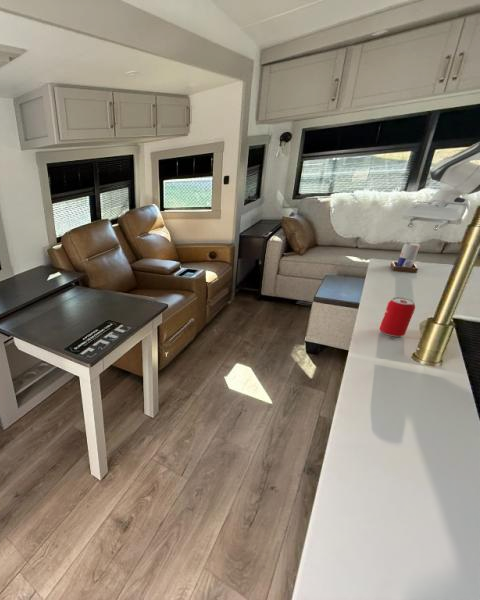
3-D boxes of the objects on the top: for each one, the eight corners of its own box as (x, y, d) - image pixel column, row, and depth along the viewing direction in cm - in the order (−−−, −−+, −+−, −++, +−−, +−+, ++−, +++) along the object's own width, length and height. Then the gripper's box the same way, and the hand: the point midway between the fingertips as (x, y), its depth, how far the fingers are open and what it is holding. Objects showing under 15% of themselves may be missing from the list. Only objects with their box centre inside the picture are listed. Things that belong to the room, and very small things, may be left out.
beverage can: (401, 330, 106) (413, 298, 101) (406, 339, 101) (420, 306, 96) (376, 327, 109) (387, 295, 104) (380, 335, 104) (392, 303, 99)
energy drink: (397, 265, 156) (405, 241, 151) (412, 267, 152) (421, 243, 147) (394, 268, 153) (403, 244, 148) (410, 270, 149) (419, 245, 144)
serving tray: (413, 267, 153) (414, 263, 153) (416, 272, 147) (418, 268, 147) (390, 265, 158) (391, 261, 157) (392, 270, 152) (394, 266, 151)
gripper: (411, 196, 149) (392, 220, 150) (474, 200, 131) (451, 227, 132) (414, 205, 152) (395, 228, 153) (475, 209, 134) (453, 236, 135)
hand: (421, 228), depth 142 cm, fingers open, 8 cm apart
